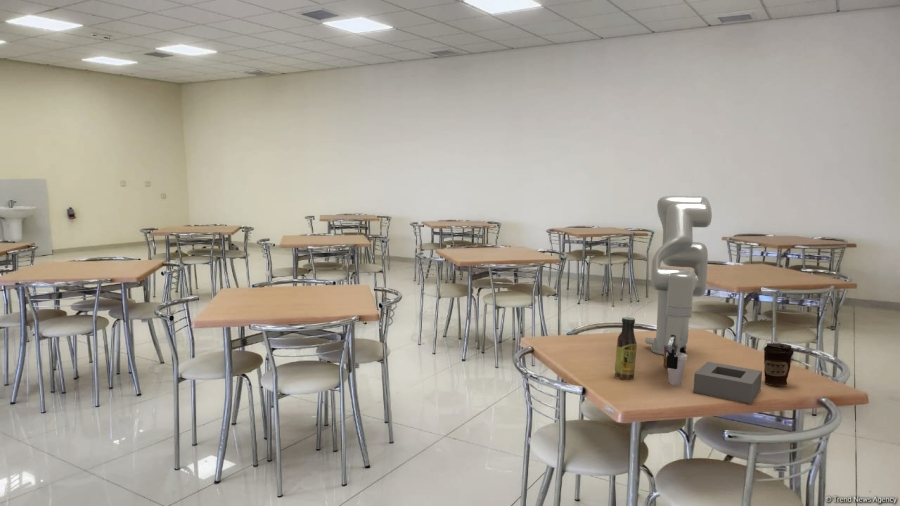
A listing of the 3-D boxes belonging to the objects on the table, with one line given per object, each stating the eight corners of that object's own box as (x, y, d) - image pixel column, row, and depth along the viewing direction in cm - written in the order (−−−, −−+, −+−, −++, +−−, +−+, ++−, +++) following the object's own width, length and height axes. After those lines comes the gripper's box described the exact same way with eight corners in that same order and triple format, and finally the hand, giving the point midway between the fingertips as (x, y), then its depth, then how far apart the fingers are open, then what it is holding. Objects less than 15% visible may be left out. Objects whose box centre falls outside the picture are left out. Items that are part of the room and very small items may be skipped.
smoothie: (687, 387, 188) (689, 344, 186) (665, 385, 189) (668, 342, 187) (683, 381, 194) (686, 339, 192) (662, 379, 195) (665, 337, 194)
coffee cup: (790, 390, 186) (793, 349, 185) (760, 385, 190) (763, 345, 189) (791, 383, 193) (794, 343, 192) (762, 378, 198) (765, 340, 196)
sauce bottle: (624, 381, 193) (627, 321, 191) (610, 375, 198) (613, 317, 196) (639, 378, 196) (642, 319, 194) (625, 373, 201) (628, 315, 199)
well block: (693, 392, 183) (694, 373, 183) (706, 379, 196) (707, 361, 195) (750, 404, 174) (752, 384, 173) (760, 389, 187) (761, 370, 186)
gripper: (674, 305, 198) (672, 357, 200) (658, 314, 184) (655, 369, 186) (698, 308, 193) (695, 361, 195) (683, 317, 180) (680, 373, 181)
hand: (676, 364), depth 191 cm, fingers open, 8 cm apart
